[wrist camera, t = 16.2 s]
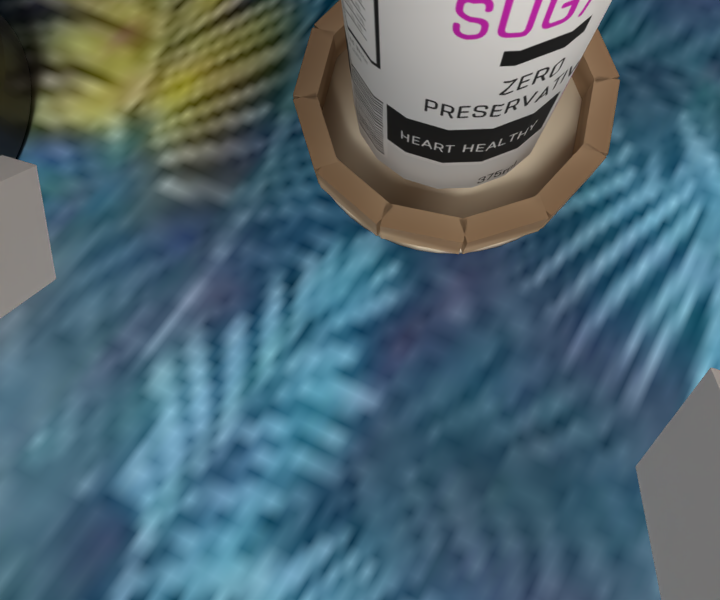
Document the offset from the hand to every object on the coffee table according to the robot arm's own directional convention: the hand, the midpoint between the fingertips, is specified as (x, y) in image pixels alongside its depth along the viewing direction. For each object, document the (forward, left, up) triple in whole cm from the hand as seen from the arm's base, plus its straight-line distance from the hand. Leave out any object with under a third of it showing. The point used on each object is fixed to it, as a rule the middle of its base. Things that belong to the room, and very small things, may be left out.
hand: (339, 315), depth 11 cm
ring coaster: (+1, +12, -12) cm, 17 cm away
